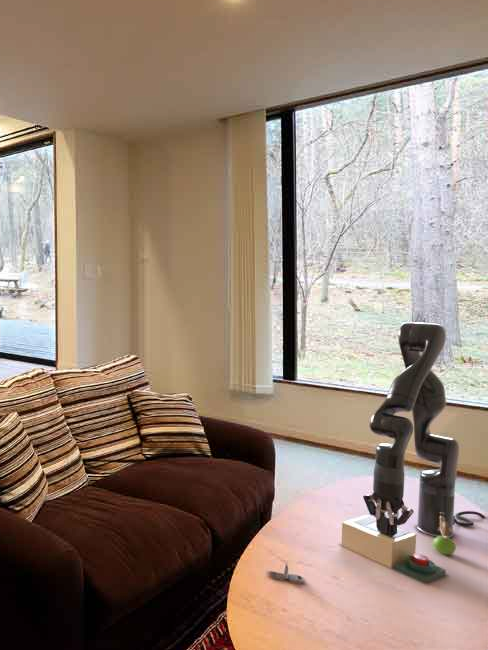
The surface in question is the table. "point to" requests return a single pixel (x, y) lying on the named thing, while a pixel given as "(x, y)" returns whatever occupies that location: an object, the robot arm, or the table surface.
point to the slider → (384, 524)
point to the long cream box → (377, 541)
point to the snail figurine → (444, 539)
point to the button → (420, 559)
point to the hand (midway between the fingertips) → (386, 532)
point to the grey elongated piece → (290, 576)
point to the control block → (420, 570)
